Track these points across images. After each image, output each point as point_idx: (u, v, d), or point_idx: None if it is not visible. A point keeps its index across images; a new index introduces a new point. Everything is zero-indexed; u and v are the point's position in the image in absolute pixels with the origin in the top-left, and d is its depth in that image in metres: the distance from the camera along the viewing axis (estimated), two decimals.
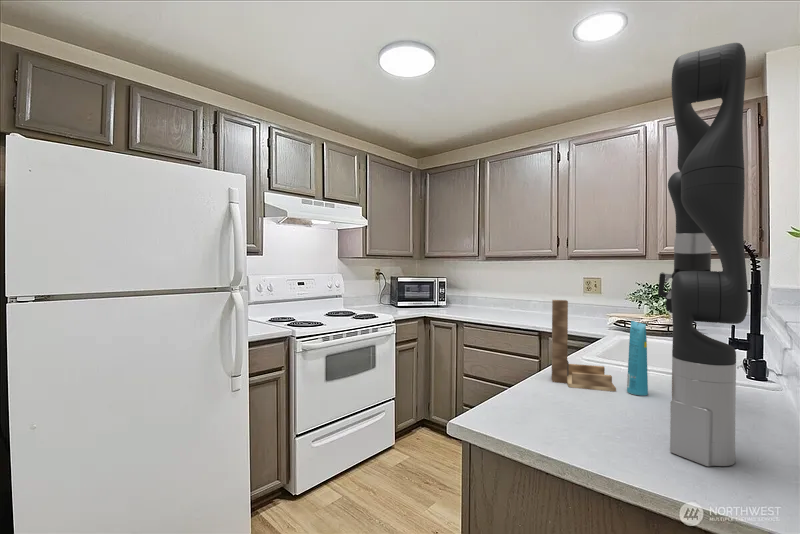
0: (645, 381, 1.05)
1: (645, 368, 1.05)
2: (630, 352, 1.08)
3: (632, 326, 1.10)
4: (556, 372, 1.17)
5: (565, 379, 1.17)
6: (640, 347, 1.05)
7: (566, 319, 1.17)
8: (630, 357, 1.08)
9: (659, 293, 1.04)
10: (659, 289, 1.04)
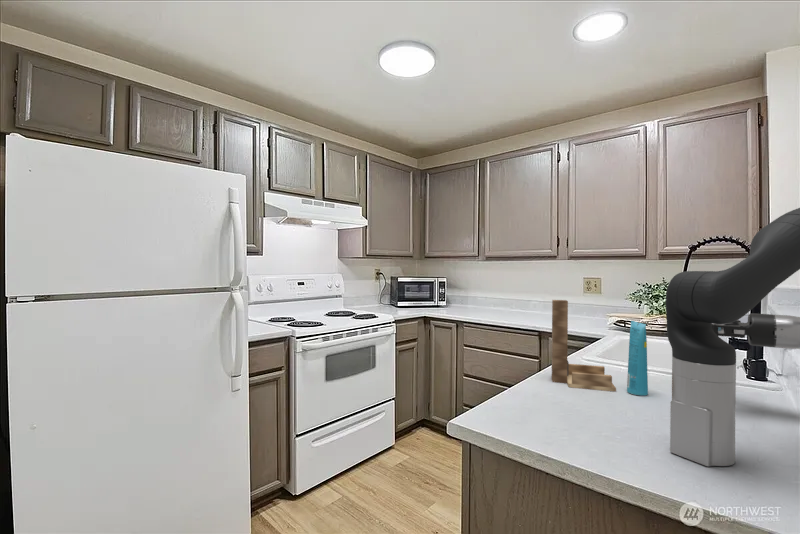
0: (645, 381, 1.05)
1: (645, 368, 1.05)
2: (630, 352, 1.08)
3: (632, 326, 1.10)
4: (556, 372, 1.17)
5: (565, 379, 1.17)
6: (640, 347, 1.05)
7: (566, 319, 1.17)
8: (630, 357, 1.08)
9: None
10: None
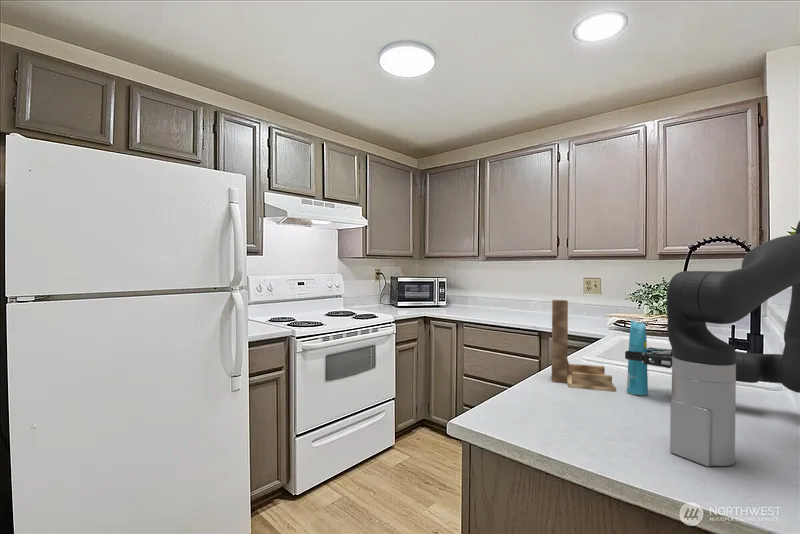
0: (645, 381, 1.05)
1: (645, 368, 1.05)
2: None
3: (632, 326, 1.10)
4: (556, 372, 1.17)
5: (565, 379, 1.17)
6: (640, 347, 1.05)
7: (566, 319, 1.17)
8: None
9: (650, 347, 1.11)
10: (655, 348, 1.10)
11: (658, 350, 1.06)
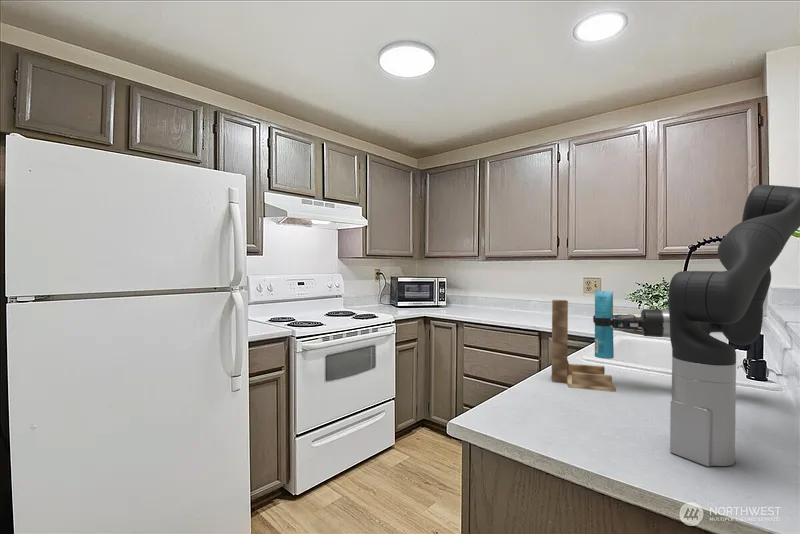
0: (612, 345, 1.13)
1: (612, 333, 1.12)
2: None
3: (597, 295, 1.17)
4: (556, 372, 1.17)
5: (565, 379, 1.17)
6: (608, 313, 1.12)
7: (566, 319, 1.17)
8: None
9: None
10: None
11: (621, 316, 1.15)
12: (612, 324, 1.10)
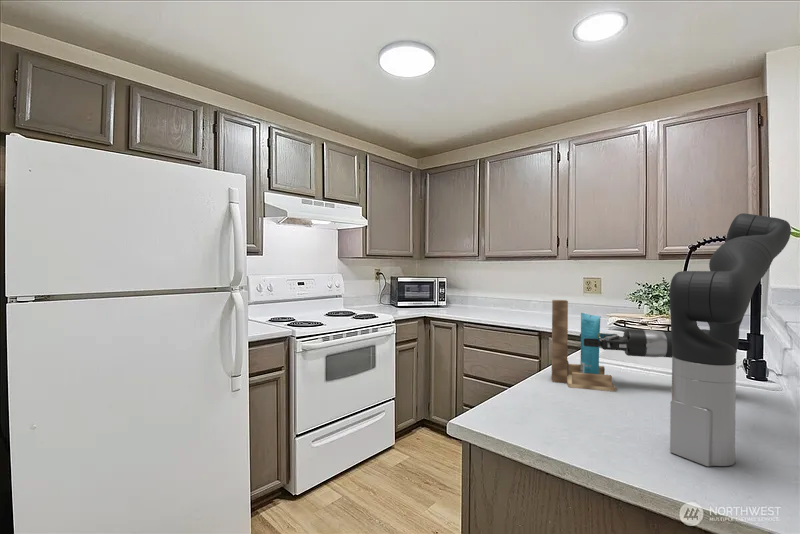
0: (598, 368, 1.14)
1: (598, 356, 1.14)
2: None
3: (584, 318, 1.18)
4: (556, 372, 1.17)
5: (565, 379, 1.17)
6: (595, 338, 1.13)
7: (566, 319, 1.17)
8: (584, 347, 1.16)
9: None
10: (600, 333, 1.22)
11: (605, 335, 1.17)
12: (601, 345, 1.10)
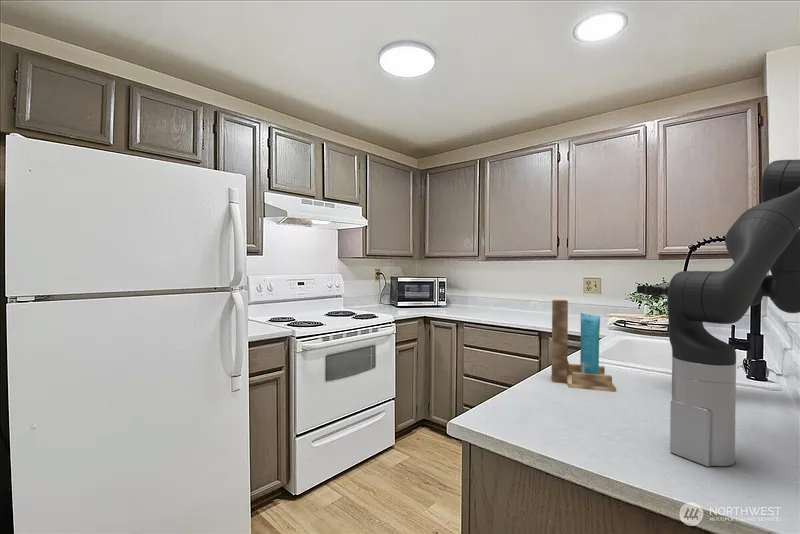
0: (598, 368, 1.14)
1: (598, 356, 1.14)
2: (583, 342, 1.16)
3: (583, 318, 1.18)
4: (556, 372, 1.17)
5: (565, 379, 1.17)
6: (594, 338, 1.13)
7: (566, 319, 1.17)
8: (584, 347, 1.16)
9: None
10: None
11: (665, 285, 1.11)
12: (667, 292, 1.03)
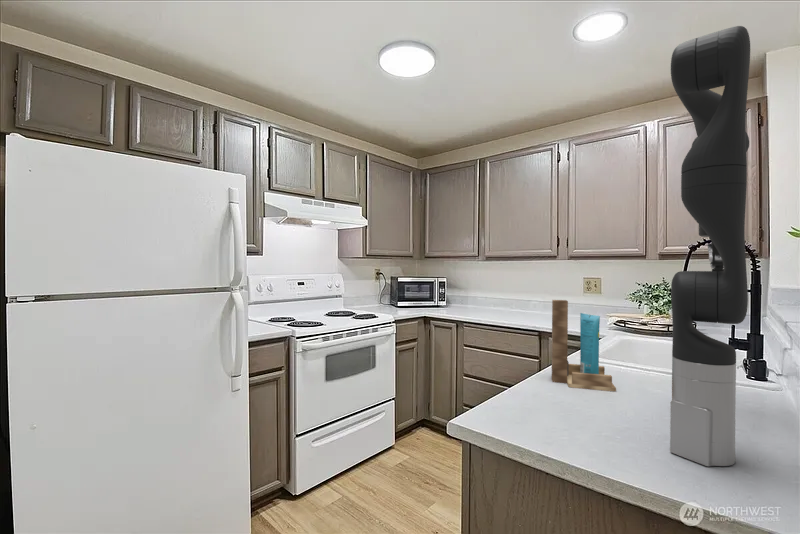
0: (598, 368, 1.14)
1: (598, 356, 1.14)
2: (583, 342, 1.16)
3: (583, 318, 1.18)
4: (556, 372, 1.17)
5: (565, 379, 1.17)
6: (594, 337, 1.14)
7: (566, 319, 1.17)
8: (584, 347, 1.16)
9: None
10: None
11: None
12: (720, 266, 0.89)
